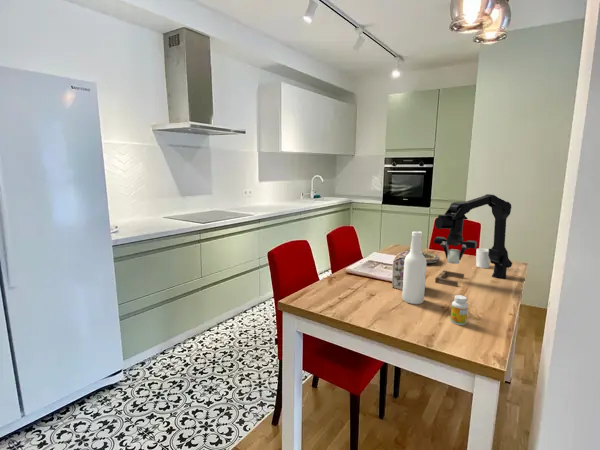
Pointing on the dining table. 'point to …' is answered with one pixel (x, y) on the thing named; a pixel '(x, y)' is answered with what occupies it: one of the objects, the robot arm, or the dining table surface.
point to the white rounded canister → (453, 256)
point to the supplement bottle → (459, 310)
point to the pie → (431, 257)
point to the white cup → (482, 258)
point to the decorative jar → (399, 270)
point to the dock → (448, 282)
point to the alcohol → (414, 272)
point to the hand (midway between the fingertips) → (453, 259)
